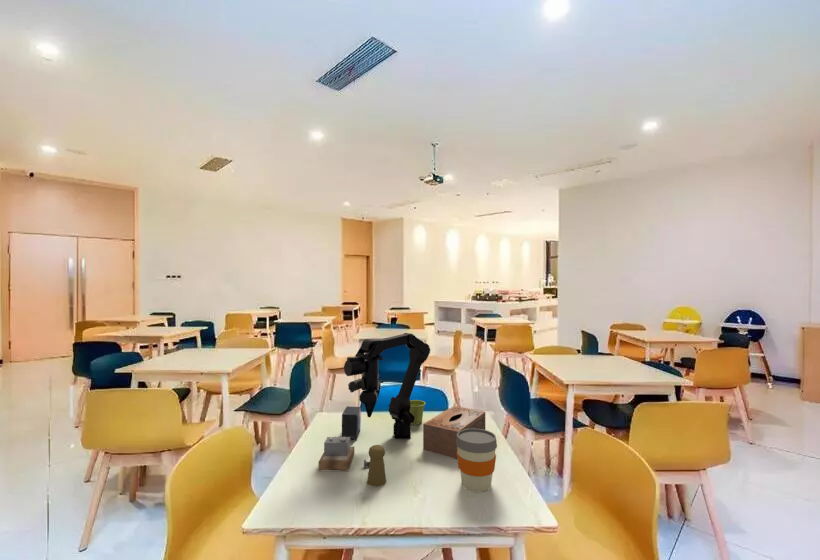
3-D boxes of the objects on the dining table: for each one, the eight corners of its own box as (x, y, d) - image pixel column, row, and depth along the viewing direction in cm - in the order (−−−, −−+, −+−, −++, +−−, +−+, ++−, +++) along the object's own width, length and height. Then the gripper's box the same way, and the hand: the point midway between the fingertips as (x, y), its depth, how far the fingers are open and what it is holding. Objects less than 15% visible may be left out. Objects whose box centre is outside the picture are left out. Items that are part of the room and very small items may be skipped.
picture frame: (354, 454, 141) (354, 445, 141) (348, 470, 129) (348, 460, 129) (326, 454, 141) (326, 445, 141) (318, 470, 129) (318, 460, 129)
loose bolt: (380, 462, 135) (380, 456, 135) (381, 465, 133) (382, 459, 133) (363, 465, 133) (363, 458, 133) (365, 468, 131) (365, 461, 131)
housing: (327, 449, 138) (327, 434, 138) (350, 449, 138) (350, 435, 138) (324, 455, 133) (324, 440, 133) (347, 456, 133) (347, 440, 133)
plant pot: (403, 425, 171) (403, 405, 171) (406, 418, 180) (406, 399, 180) (424, 426, 169) (424, 406, 169) (426, 419, 179) (426, 400, 179)
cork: (371, 488, 118) (371, 452, 118) (364, 479, 123) (364, 444, 123) (389, 483, 121) (389, 448, 121) (381, 475, 126) (381, 441, 126)
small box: (357, 441, 154) (357, 414, 154) (341, 440, 154) (341, 414, 154) (361, 431, 164) (361, 406, 164) (345, 430, 164) (346, 406, 164)
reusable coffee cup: (467, 470, 129) (467, 425, 129) (503, 481, 122) (503, 433, 122) (448, 486, 119) (448, 437, 119) (486, 499, 112) (486, 447, 112)
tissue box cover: (458, 460, 138) (458, 431, 138) (423, 450, 145) (423, 423, 146) (485, 436, 159) (485, 411, 160) (453, 429, 167) (453, 405, 167)
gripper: (353, 367, 159) (353, 405, 158) (345, 378, 140) (345, 421, 140) (381, 367, 159) (380, 405, 158) (376, 378, 140) (376, 421, 140)
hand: (370, 413), depth 149 cm, fingers open, 9 cm apart
